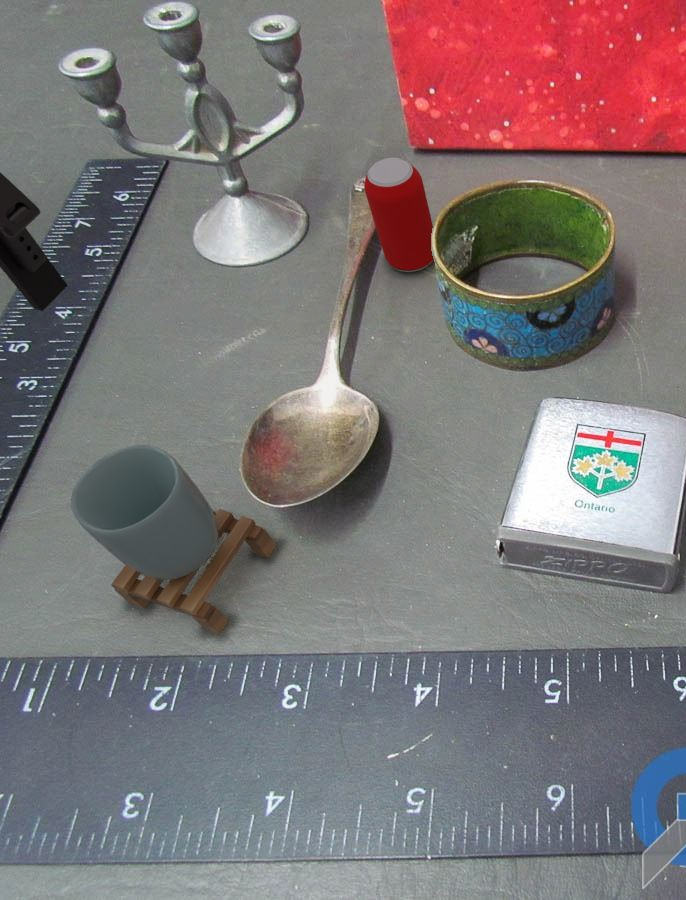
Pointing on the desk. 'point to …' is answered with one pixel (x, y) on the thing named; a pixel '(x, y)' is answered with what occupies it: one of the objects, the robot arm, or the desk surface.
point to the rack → (195, 602)
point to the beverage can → (400, 213)
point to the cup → (146, 512)
